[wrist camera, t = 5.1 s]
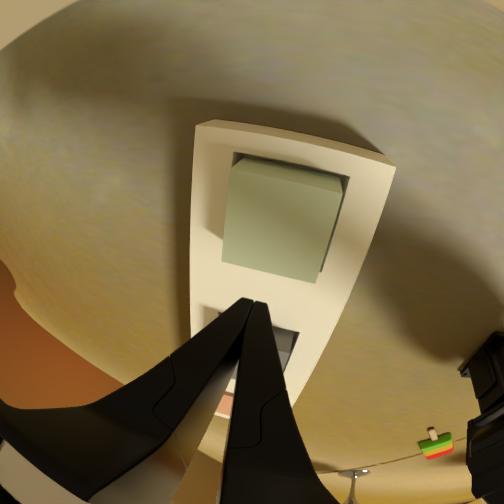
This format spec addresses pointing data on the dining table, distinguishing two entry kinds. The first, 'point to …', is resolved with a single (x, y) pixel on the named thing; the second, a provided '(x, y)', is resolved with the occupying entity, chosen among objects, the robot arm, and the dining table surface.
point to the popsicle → (437, 445)
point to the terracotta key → (225, 404)
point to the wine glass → (353, 483)
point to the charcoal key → (279, 345)
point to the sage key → (279, 218)
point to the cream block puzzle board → (270, 285)
